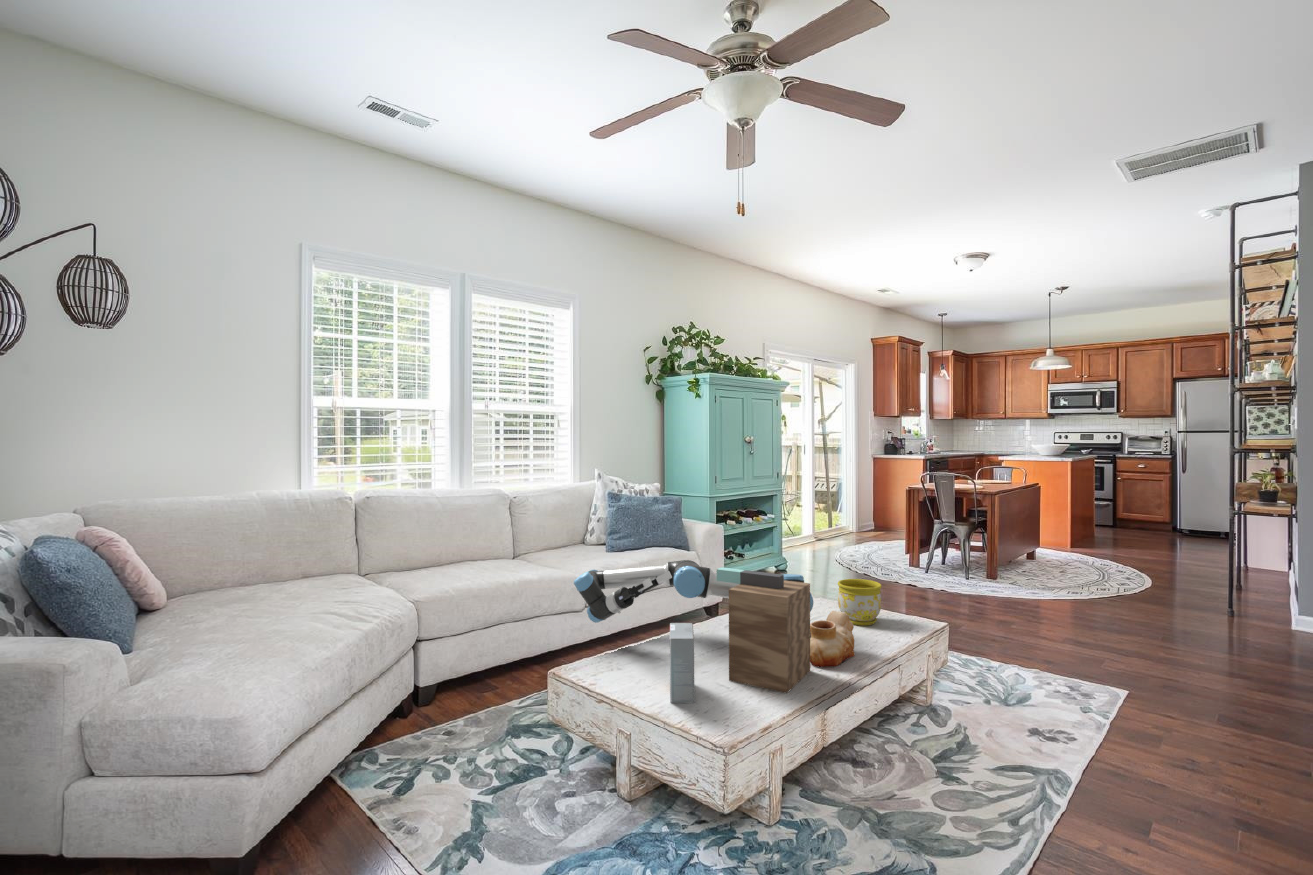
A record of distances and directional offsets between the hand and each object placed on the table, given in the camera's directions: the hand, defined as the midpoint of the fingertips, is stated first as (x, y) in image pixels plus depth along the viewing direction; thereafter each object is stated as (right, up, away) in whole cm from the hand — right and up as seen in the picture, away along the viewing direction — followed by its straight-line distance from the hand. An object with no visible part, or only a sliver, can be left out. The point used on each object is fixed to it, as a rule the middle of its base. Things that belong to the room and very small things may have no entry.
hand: (660, 577), depth 240 cm
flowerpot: (+86, -28, +40) cm, 98 cm away
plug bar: (+30, +2, -18) cm, 35 cm away
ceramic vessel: (+62, -28, -4) cm, 68 cm away
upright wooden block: (+37, -28, -22) cm, 51 cm away
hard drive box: (+7, -29, -36) cm, 46 cm away
